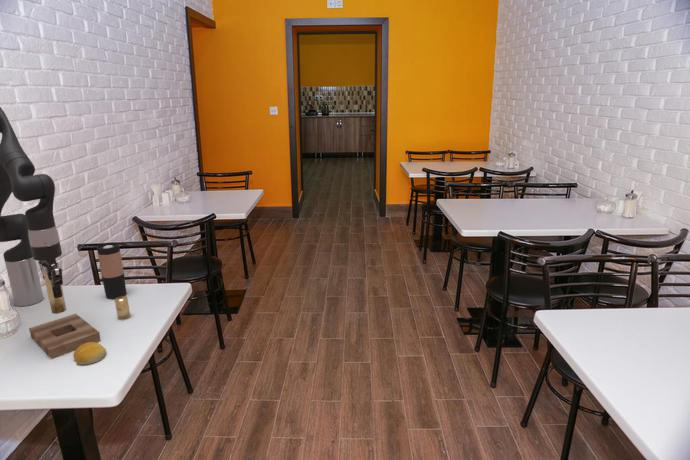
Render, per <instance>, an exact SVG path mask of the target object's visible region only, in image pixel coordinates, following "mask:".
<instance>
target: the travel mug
mask: <svg viewBox="0 0 690 460" xmlns="http://www.w3.org/2000/svg"><path fill="white" fill-rule="evenodd" d="M120 248H121V247H120V243H118V242H105V243H102V244H99V245H98V246H96V249H97V256H98V257H97V258H98V263H99V268H100V276H101V280H102V285H103V289H104V290H103V291H104V293H105V298H106V299H107V300H115V298H117V297H121V296H127V287H126V279H125V272H124V266H123V260H122V253H121V249H120Z"/></svg>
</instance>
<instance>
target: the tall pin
mask: <svg viewBox="0 0 690 460" xmlns="http://www.w3.org/2000/svg"><path fill="white" fill-rule="evenodd" d="M43 274H44V278H45V280H44V282H45V287H46V292H47V296H48V301H49V306H50V311H51V313H52V314H54V315H55V314H56V315H57V314H62V313H64V312H66V311H67V306H66V300H65V296H64V292H63V291H64V290H63V285H60V286H61V290H62V297H60V298H54V295H53V291H52V286H51V283H50V280H48V279H47V276H46V272H45V271H44V269H43ZM50 277H52V275H50ZM55 282H58V280H56V281H55Z"/></svg>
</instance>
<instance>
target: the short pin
mask: <svg viewBox="0 0 690 460" xmlns="http://www.w3.org/2000/svg"><path fill="white" fill-rule="evenodd" d="M114 304H115V309H116V317H117V320H118V321H125V320H127V319H129V318H131V312H130V311H131V310H130V306H129V305H130V304H129V299H128V296H127V295H125V296H121V297H117V298H115V299H114Z"/></svg>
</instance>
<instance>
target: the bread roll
mask: <svg viewBox="0 0 690 460" xmlns="http://www.w3.org/2000/svg"><path fill="white" fill-rule="evenodd" d="M106 354H107V349H106V348H105V347H104V346H103V345H102V344H101V343H99V342H88V343H85V344H82V345H81V346H79V347H78V348H77V349H76V350H74V351H73V359H74V360H75V363H77V364H78V365H79V366H84V365H85V366H86V365H91V364H96V363H97V362H99V361H101V360H102V359H103V358H105V357H106Z"/></svg>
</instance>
